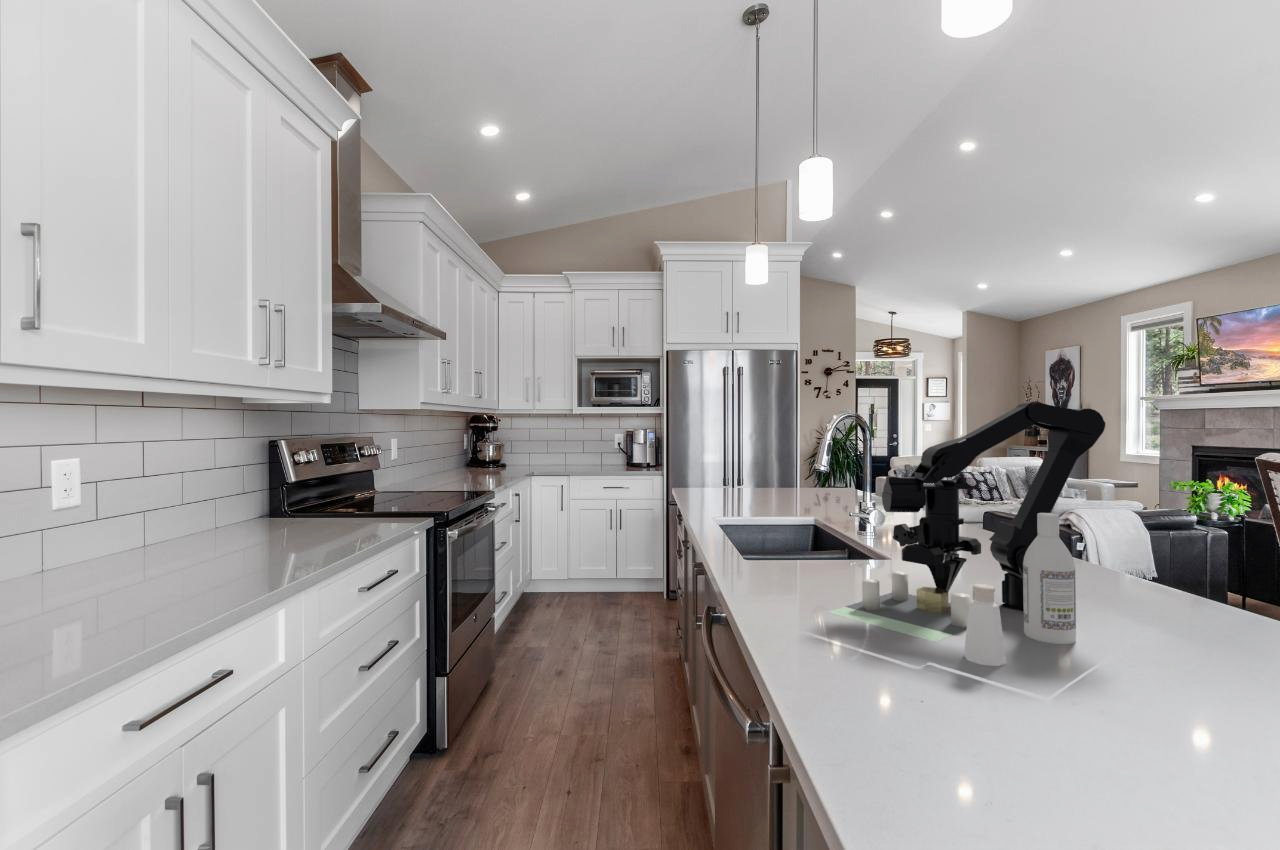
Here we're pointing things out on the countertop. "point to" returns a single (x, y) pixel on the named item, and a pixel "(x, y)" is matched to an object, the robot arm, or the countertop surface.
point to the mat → (903, 618)
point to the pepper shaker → (984, 629)
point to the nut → (932, 600)
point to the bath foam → (1049, 586)
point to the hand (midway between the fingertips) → (942, 595)
